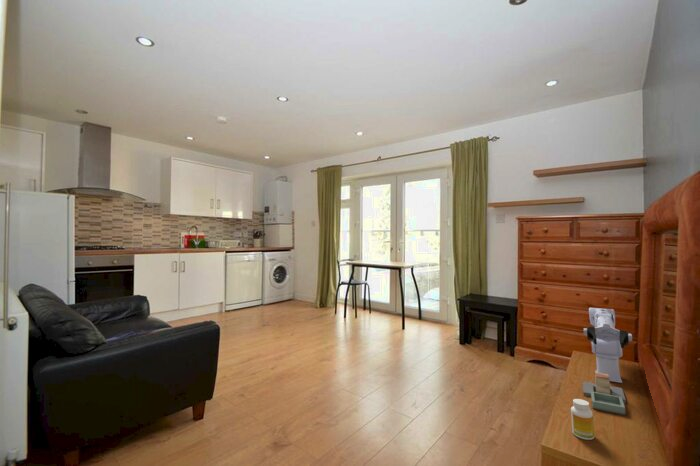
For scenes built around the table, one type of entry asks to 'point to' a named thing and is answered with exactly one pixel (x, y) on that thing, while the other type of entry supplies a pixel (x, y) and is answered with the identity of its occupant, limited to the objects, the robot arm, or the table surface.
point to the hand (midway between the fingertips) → (608, 343)
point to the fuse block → (602, 383)
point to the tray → (607, 403)
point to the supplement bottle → (582, 420)
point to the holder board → (592, 386)
